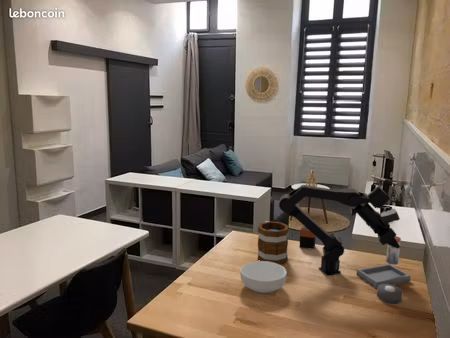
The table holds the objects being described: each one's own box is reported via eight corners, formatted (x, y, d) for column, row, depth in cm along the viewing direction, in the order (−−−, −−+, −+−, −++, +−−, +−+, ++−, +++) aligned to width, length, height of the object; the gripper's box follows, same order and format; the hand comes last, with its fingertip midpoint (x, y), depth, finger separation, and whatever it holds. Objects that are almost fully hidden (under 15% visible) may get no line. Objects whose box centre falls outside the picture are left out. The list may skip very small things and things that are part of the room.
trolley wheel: (388, 305, 125) (389, 295, 124) (371, 293, 132) (372, 284, 132) (406, 301, 128) (407, 291, 127) (389, 290, 135) (390, 280, 134)
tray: (376, 288, 136) (376, 282, 136) (356, 275, 146) (356, 269, 146) (410, 281, 141) (410, 275, 141) (388, 269, 151) (389, 263, 151)
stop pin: (388, 264, 142) (390, 239, 140) (384, 259, 146) (386, 235, 145) (399, 264, 142) (402, 240, 140) (396, 259, 146) (398, 235, 144)
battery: (314, 249, 171) (315, 229, 170) (299, 247, 174) (300, 227, 172) (315, 246, 175) (316, 225, 174) (300, 244, 178) (301, 224, 176)
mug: (292, 265, 155) (293, 231, 152) (260, 267, 154) (261, 232, 151) (279, 246, 174) (280, 216, 172) (251, 248, 173) (252, 217, 170)
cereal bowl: (291, 282, 141) (291, 265, 140) (278, 304, 126) (279, 285, 125) (249, 273, 148) (249, 257, 147) (233, 293, 133) (233, 275, 132)
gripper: (392, 209, 131) (422, 241, 131) (381, 196, 149) (408, 224, 149) (367, 229, 134) (397, 260, 134) (359, 213, 152) (385, 241, 152)
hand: (397, 245), depth 142 cm, fingers closed on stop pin, 4 cm apart
